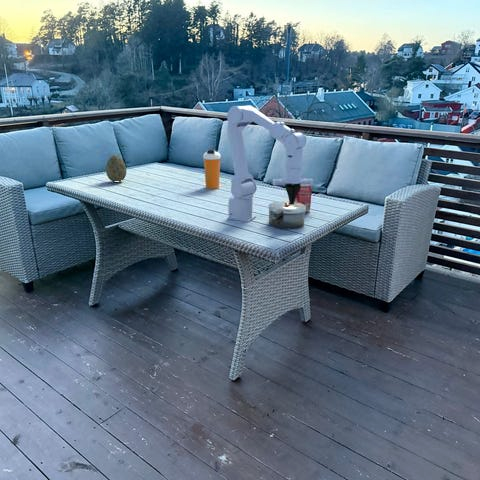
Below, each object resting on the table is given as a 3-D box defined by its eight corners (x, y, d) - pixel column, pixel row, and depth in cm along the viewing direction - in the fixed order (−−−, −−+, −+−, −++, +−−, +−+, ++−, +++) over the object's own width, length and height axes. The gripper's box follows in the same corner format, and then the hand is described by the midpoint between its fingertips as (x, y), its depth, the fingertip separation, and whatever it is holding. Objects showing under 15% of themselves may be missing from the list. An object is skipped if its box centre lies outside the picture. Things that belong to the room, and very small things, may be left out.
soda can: (299, 208, 184) (300, 181, 179) (313, 210, 180) (315, 183, 175) (290, 211, 178) (292, 184, 174) (304, 214, 174) (306, 186, 170)
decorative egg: (124, 184, 224) (121, 156, 218) (104, 184, 224) (101, 156, 218) (129, 180, 234) (127, 153, 228) (110, 180, 234) (107, 153, 228)
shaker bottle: (221, 185, 223) (220, 148, 215) (220, 189, 214) (220, 150, 207) (204, 185, 222) (203, 148, 215) (203, 189, 214) (202, 150, 207)
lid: (257, 214, 154) (257, 208, 153) (276, 201, 170) (276, 196, 169) (294, 219, 148) (295, 214, 147) (310, 206, 164) (310, 201, 163)
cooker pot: (257, 229, 156) (258, 214, 154) (276, 216, 172) (277, 202, 170) (292, 235, 150) (293, 219, 148) (308, 221, 166) (309, 206, 164)
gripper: (275, 169, 143) (274, 207, 148) (316, 169, 144) (313, 206, 149) (272, 165, 149) (270, 202, 154) (311, 165, 151) (308, 201, 155)
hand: (291, 204), depth 152 cm, fingers closed
